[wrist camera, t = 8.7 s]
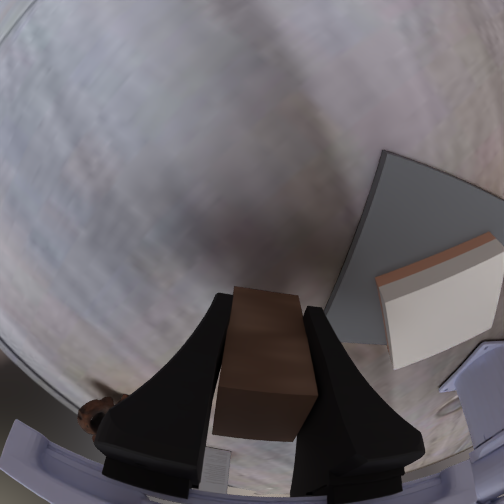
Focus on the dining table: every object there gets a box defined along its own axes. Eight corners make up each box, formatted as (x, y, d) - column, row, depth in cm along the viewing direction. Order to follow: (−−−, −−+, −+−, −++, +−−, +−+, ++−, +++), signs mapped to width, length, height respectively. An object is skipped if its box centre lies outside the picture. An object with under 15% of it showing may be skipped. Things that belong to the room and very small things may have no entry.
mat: (523, 211, 12) (528, 215, 11) (447, 340, 18) (449, 345, 18) (383, 149, 11) (387, 153, 11) (314, 332, 18) (314, 339, 17)
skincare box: (223, 458, 37) (216, 521, 27) (197, 453, 37) (188, 516, 27) (232, 450, 34) (225, 521, 24) (203, 445, 34) (193, 517, 24)
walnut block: (298, 295, 13) (318, 395, 8) (284, 343, 14) (292, 441, 9) (234, 286, 13) (218, 385, 8) (227, 335, 14) (211, 434, 9)
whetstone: (480, 308, 16) (489, 231, 12) (491, 327, 14) (507, 250, 11) (387, 347, 18) (374, 277, 14) (394, 370, 16) (385, 302, 13)
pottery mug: (190, 419, 29) (168, 473, 25) (146, 393, 35) (127, 440, 31) (106, 393, 21) (81, 460, 17) (74, 362, 27) (53, 418, 23)
